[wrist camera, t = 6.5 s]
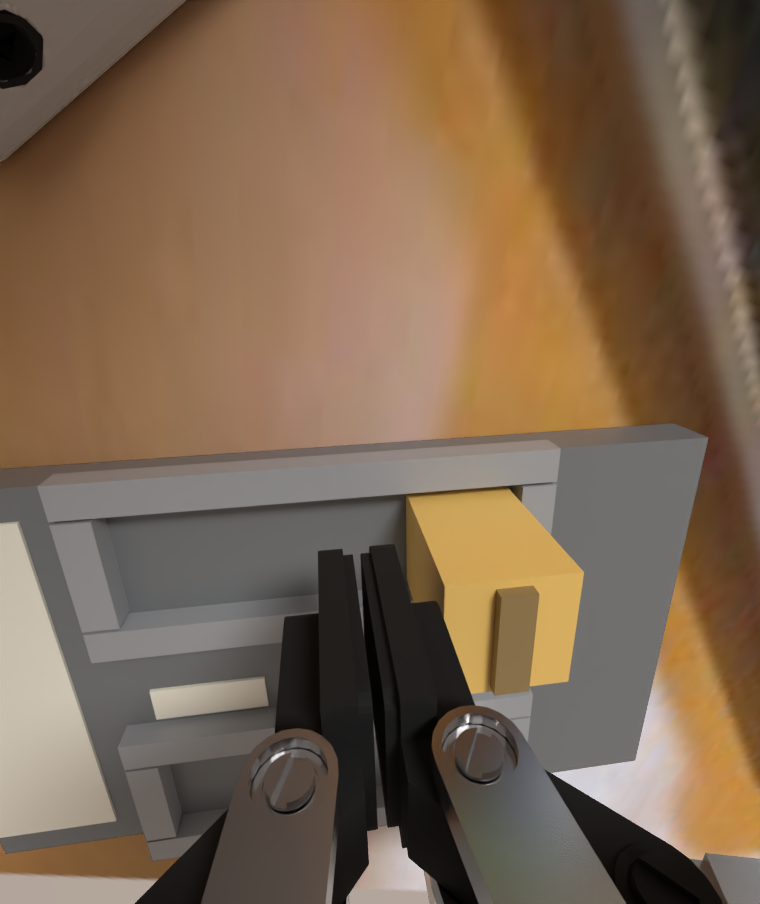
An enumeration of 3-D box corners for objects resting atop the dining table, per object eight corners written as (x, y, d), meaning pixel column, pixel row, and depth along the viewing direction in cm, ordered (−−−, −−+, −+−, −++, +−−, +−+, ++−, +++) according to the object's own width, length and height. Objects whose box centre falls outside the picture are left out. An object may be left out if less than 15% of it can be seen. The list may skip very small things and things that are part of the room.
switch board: (-117, 467, 13) (-199, 503, 11) (676, 414, 16) (731, 436, 14) (31, 815, 18) (-6, 885, 16) (612, 733, 21) (646, 784, 19)
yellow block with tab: (406, 492, 14) (448, 595, 9) (505, 484, 14) (591, 580, 10) (406, 579, 15) (445, 709, 10) (498, 570, 15) (574, 691, 11)
